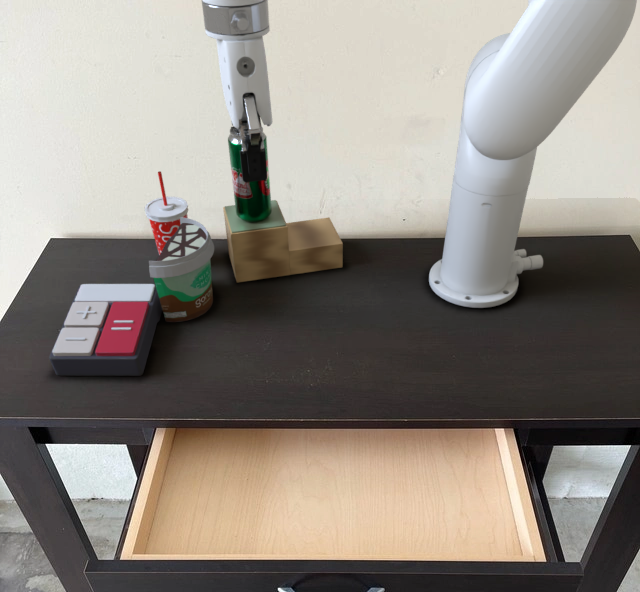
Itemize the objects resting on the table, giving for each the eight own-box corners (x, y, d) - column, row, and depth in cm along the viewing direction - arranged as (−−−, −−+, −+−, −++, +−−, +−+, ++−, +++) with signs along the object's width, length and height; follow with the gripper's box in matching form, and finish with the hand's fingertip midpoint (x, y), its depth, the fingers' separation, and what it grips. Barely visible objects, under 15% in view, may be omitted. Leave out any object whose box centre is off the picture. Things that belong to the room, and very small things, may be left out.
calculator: (45, 354, 79) (77, 279, 89) (56, 379, 82) (86, 304, 92) (136, 354, 79) (158, 278, 89) (143, 379, 82) (164, 304, 92)
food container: (205, 333, 88) (194, 268, 80) (161, 328, 89) (146, 263, 81) (232, 282, 96) (224, 218, 89) (192, 277, 97) (181, 215, 90)
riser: (329, 240, 104) (329, 192, 98) (342, 267, 98) (343, 217, 93) (229, 254, 101) (222, 205, 96) (236, 282, 96) (230, 232, 90)
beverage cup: (150, 270, 99) (129, 180, 89) (165, 249, 103) (147, 160, 93) (188, 274, 98) (172, 184, 88) (202, 253, 102) (188, 164, 92)
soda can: (229, 214, 94) (219, 128, 85) (259, 203, 96) (251, 118, 87) (249, 228, 91) (240, 140, 83) (279, 216, 93) (273, 130, 85)
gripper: (283, 36, 71) (290, 193, 83) (255, -4, 82) (266, 139, 95) (213, 42, 69) (231, 200, 82) (195, 0, 81) (214, 145, 94)
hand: (250, 166), depth 89 cm, fingers open, 7 cm apart
